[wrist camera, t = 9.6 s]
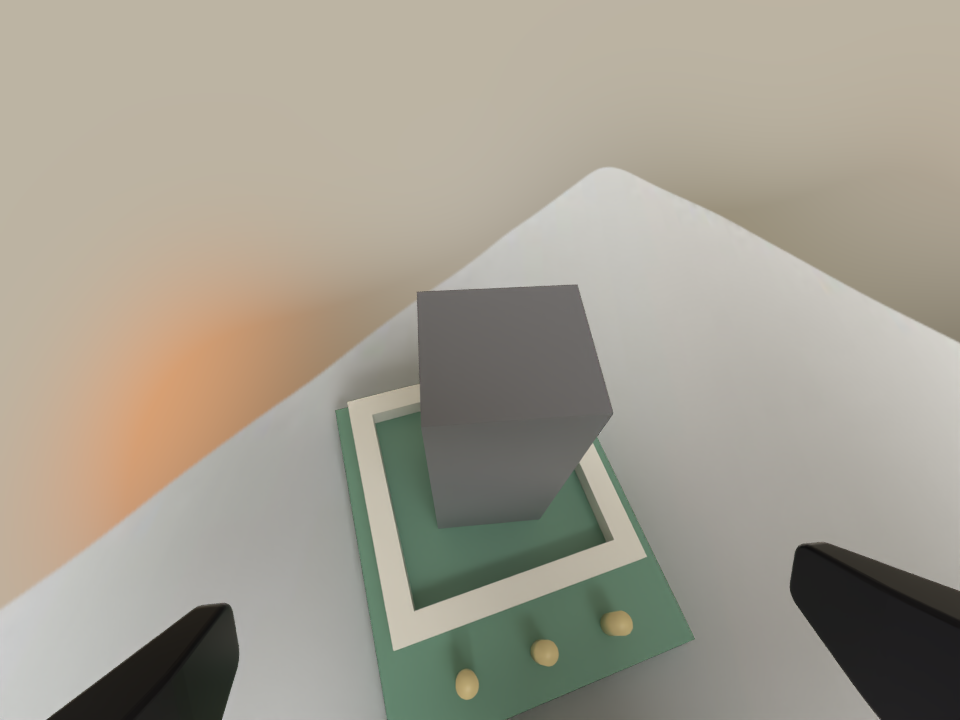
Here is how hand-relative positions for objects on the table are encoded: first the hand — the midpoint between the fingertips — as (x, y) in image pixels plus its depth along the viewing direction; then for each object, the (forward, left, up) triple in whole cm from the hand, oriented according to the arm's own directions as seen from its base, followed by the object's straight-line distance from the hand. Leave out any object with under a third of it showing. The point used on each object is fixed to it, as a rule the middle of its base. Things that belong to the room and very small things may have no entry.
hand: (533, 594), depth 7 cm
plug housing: (+5, -2, -13) cm, 14 cm away
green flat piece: (+4, -2, -14) cm, 14 cm away
